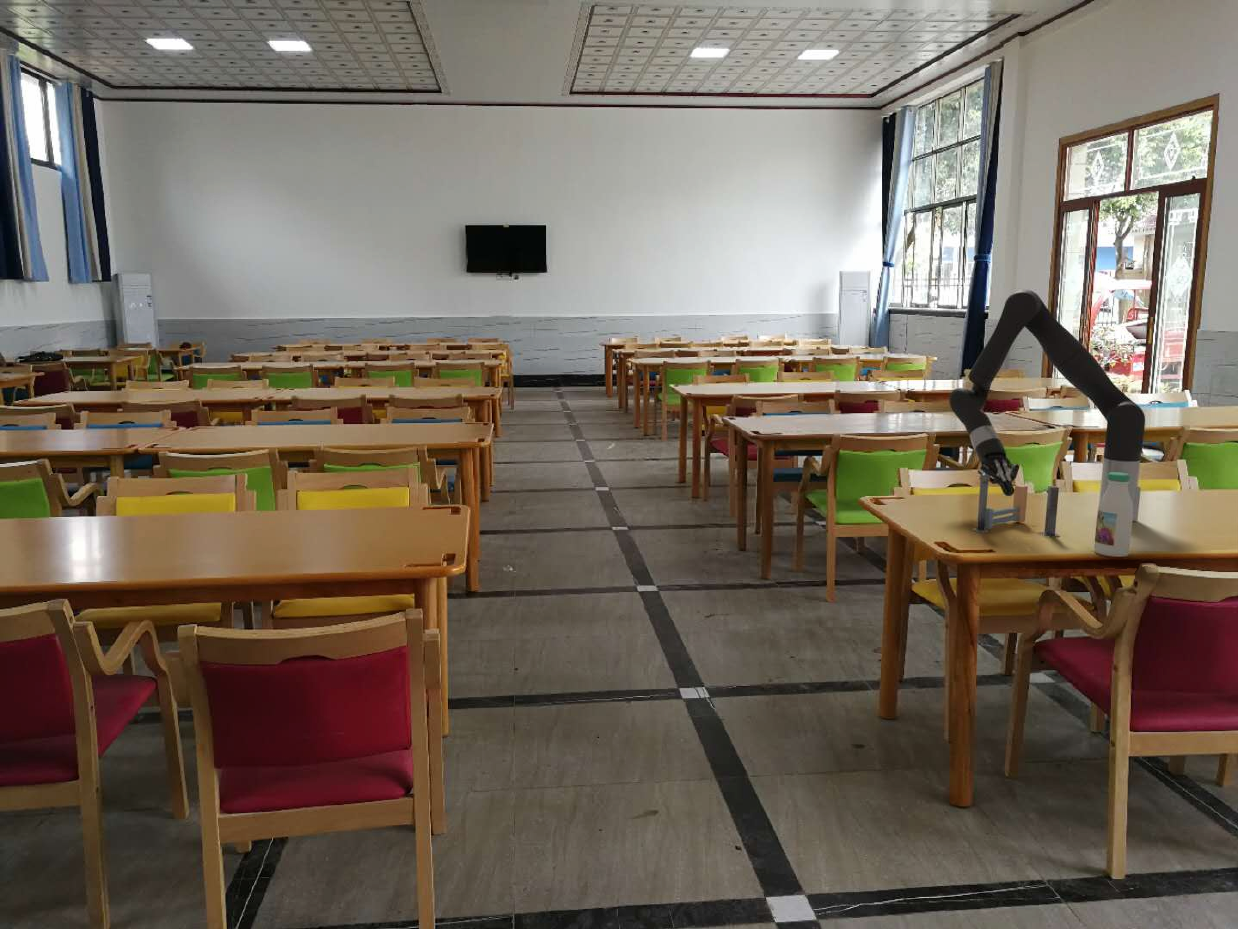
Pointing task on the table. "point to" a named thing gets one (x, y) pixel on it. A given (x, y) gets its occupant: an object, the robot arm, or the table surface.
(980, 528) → the hinge post
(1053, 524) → the post
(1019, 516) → the gate
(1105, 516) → the milk bottle
